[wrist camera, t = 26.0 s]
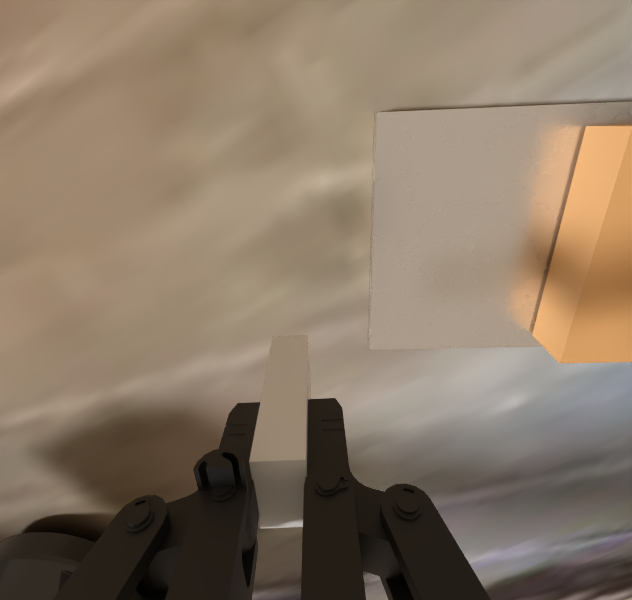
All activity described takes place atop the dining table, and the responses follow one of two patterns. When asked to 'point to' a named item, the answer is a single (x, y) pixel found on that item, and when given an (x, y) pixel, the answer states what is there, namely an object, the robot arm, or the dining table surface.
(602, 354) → the block
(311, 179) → the dining table surface
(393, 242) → the vise
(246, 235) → the dining table surface
